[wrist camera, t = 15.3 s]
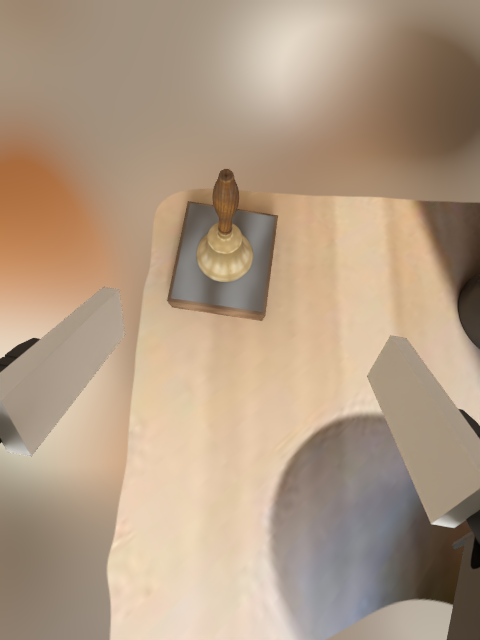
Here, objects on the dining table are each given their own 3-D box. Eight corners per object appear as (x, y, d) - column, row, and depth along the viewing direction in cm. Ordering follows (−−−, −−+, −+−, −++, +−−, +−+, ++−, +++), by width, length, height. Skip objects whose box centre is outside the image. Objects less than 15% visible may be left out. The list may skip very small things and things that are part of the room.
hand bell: (231, 219, 40) (233, 119, 24) (264, 261, 38) (289, 186, 23) (185, 249, 38) (156, 164, 23) (218, 293, 37) (211, 236, 22)
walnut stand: (273, 228, 44) (278, 214, 40) (261, 320, 41) (265, 315, 37) (191, 215, 44) (187, 199, 40) (172, 307, 41) (166, 300, 37)
